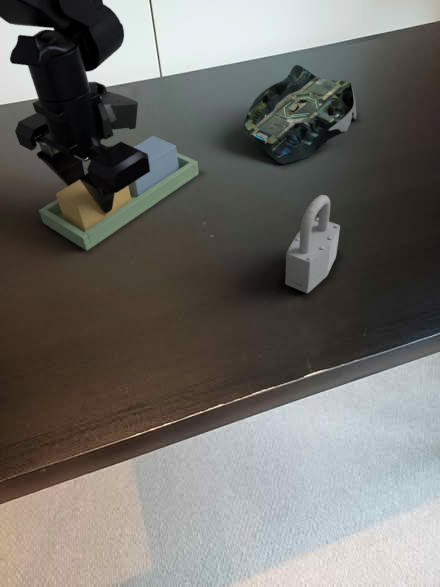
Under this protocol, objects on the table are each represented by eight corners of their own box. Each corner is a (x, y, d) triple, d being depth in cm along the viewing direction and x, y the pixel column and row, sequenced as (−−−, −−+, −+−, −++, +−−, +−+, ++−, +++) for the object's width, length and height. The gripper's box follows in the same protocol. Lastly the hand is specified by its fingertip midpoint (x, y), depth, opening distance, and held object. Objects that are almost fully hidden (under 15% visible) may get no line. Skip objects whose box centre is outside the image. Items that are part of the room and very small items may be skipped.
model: (238, 164, 81) (321, 180, 74) (227, 110, 75) (317, 122, 68) (300, 102, 91) (378, 111, 84) (295, 50, 85) (379, 55, 78)
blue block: (138, 197, 72) (133, 172, 69) (116, 185, 74) (110, 160, 71) (179, 170, 76) (176, 145, 73) (157, 159, 78) (152, 135, 75)
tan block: (85, 232, 68) (77, 207, 65) (63, 218, 70) (55, 193, 67) (132, 201, 71) (126, 176, 69) (109, 189, 74) (103, 164, 71)
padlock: (310, 247, 64) (315, 177, 57) (340, 259, 62) (350, 188, 55) (280, 283, 60) (282, 213, 53) (312, 297, 58) (318, 226, 51)
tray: (86, 251, 66) (82, 238, 64) (43, 222, 70) (38, 210, 69) (198, 174, 76) (197, 161, 74) (154, 153, 80) (152, 141, 79)
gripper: (174, 83, 58) (189, 200, 69) (69, 46, 67) (97, 154, 78) (95, 126, 52) (126, 245, 64) (-7, 79, 62) (35, 190, 73)
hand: (96, 204), depth 70 cm, fingers closed on tan block, 5 cm apart
